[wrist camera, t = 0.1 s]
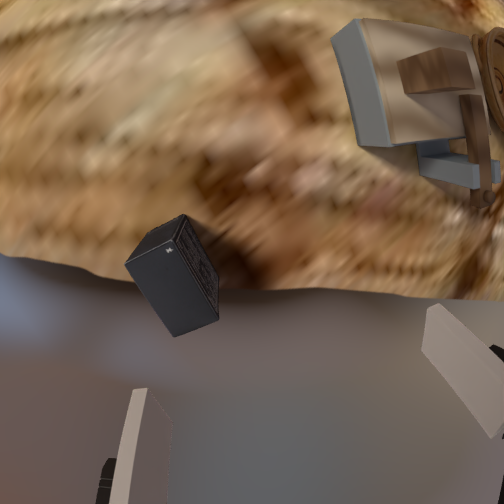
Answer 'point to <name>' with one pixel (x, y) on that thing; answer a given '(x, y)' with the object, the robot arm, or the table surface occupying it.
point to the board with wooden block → (422, 78)
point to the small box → (176, 276)
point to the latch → (478, 147)
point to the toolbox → (374, 119)
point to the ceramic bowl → (492, 70)
